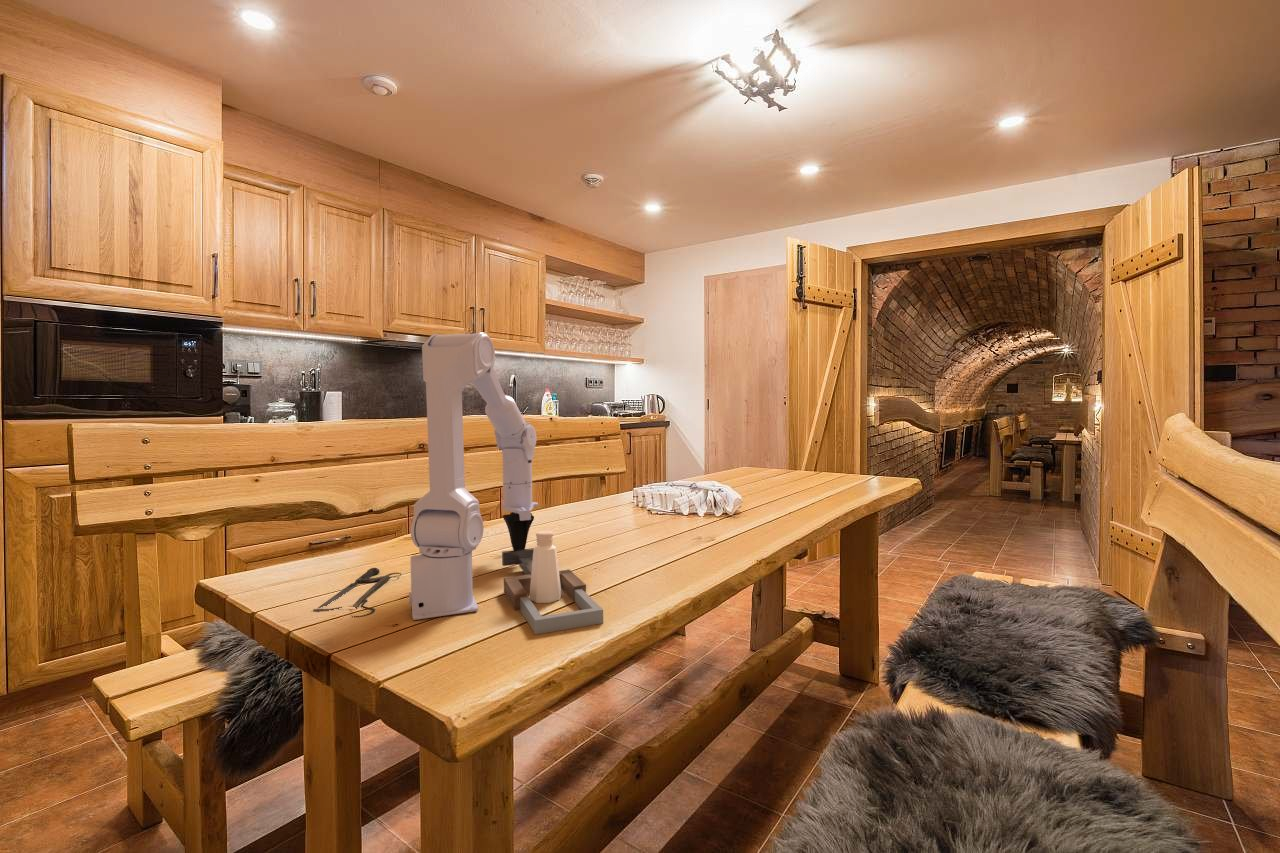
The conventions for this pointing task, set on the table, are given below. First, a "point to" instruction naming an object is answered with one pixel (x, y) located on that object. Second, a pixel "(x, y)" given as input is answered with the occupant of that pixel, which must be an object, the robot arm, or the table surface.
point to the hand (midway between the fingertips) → (518, 549)
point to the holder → (521, 584)
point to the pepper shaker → (545, 570)
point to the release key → (519, 559)
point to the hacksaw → (362, 579)
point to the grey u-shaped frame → (563, 615)
